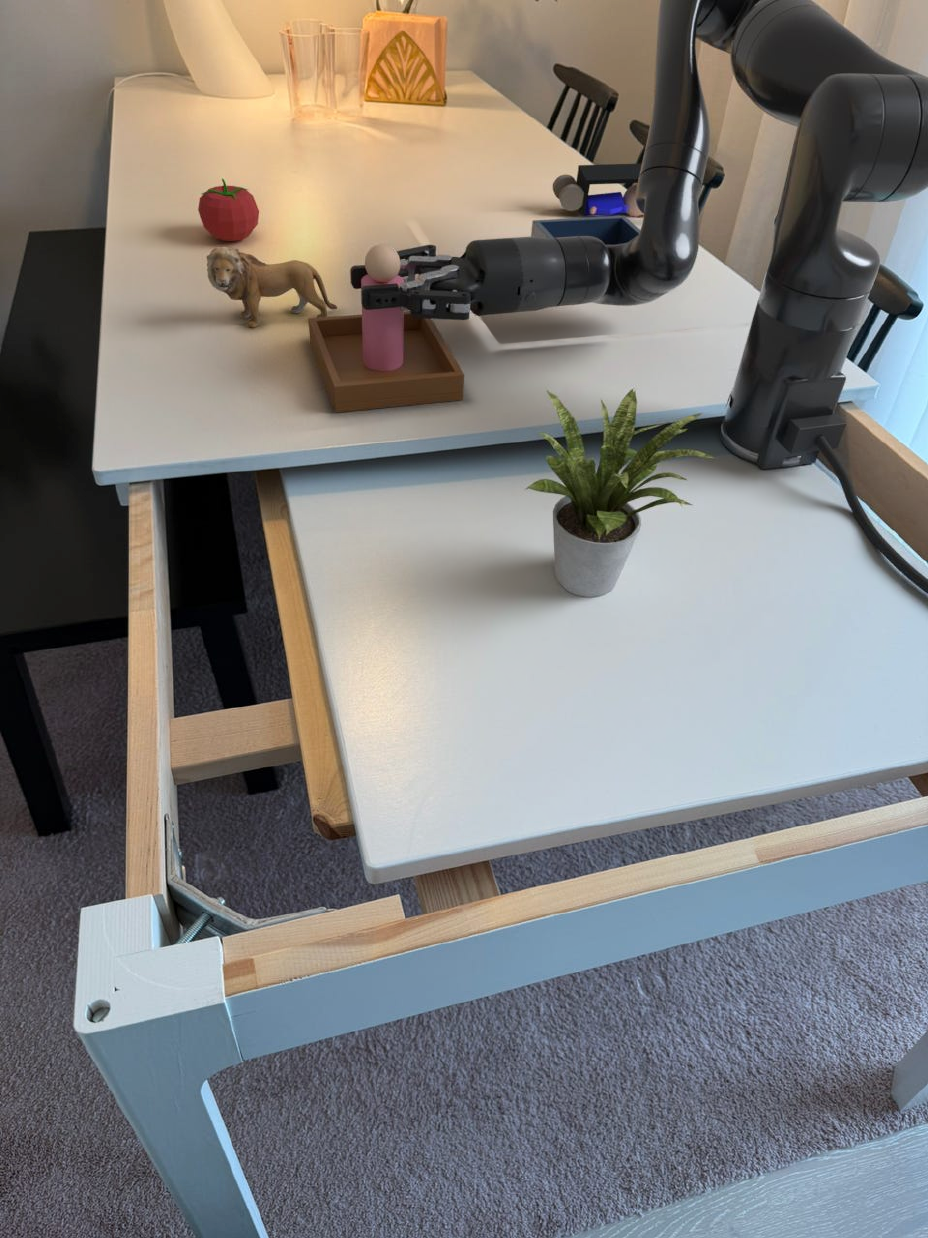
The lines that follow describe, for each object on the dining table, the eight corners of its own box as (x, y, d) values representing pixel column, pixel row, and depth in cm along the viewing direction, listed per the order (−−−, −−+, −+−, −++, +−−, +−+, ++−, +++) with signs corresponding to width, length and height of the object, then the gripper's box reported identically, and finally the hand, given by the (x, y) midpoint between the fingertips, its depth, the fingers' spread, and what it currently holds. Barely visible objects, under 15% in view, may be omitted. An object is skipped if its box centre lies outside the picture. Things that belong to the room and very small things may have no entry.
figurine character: (560, 235, 137) (659, 225, 138) (561, 182, 132) (663, 171, 132) (551, 219, 142) (647, 208, 142) (552, 166, 136) (651, 156, 137)
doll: (407, 369, 100) (409, 252, 91) (367, 372, 98) (365, 255, 90) (398, 350, 103) (399, 235, 94) (359, 353, 102) (356, 238, 93)
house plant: (698, 645, 72) (755, 469, 61) (523, 648, 71) (548, 468, 59) (656, 532, 82) (698, 364, 71) (502, 533, 81) (521, 362, 70)
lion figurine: (219, 337, 105) (209, 258, 98) (209, 317, 108) (198, 239, 102) (343, 320, 109) (341, 244, 103) (330, 302, 113) (326, 227, 107)
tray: (462, 400, 97) (464, 374, 95) (335, 413, 94) (334, 386, 92) (425, 333, 108) (425, 309, 106) (309, 343, 105) (308, 317, 103)
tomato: (199, 228, 127) (191, 169, 122) (256, 225, 130) (250, 167, 124) (206, 251, 122) (198, 190, 117) (265, 247, 124) (260, 187, 119)
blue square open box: (660, 287, 122) (667, 253, 119) (564, 294, 118) (568, 259, 115) (618, 247, 131) (624, 215, 128) (529, 253, 128) (532, 220, 125)
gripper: (494, 215, 101) (340, 224, 96) (541, 267, 91) (372, 280, 87) (489, 282, 106) (342, 293, 101) (533, 338, 96) (373, 354, 92)
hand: (357, 287), depth 94 cm, fingers closed on doll, 4 cm apart
